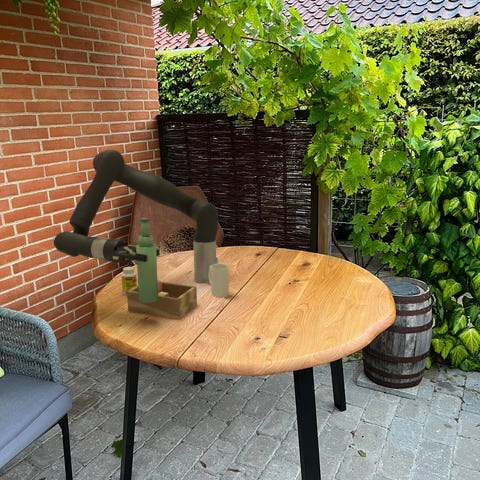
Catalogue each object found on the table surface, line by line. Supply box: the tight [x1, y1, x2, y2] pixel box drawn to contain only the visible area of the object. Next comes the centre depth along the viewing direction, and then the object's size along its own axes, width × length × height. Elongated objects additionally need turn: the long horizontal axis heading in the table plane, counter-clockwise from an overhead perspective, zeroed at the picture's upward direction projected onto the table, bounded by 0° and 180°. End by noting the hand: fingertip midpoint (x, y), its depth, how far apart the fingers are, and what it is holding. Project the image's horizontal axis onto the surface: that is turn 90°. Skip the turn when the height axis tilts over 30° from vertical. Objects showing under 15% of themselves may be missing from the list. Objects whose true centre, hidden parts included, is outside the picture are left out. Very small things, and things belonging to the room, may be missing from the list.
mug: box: [208, 263, 230, 299], centre depth 167 cm, size 10×7×12 cm, turn 42°
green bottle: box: [135, 216, 159, 303], centre depth 139 cm, size 6×6×27 cm
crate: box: [126, 279, 198, 321], centre depth 153 cm, size 13×20×9 cm, turn 68°
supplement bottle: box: [120, 266, 138, 296], centre depth 169 cm, size 6×6×10 cm
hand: (152, 255), depth 138 cm, fingers closed on green bottle, 6 cm apart
